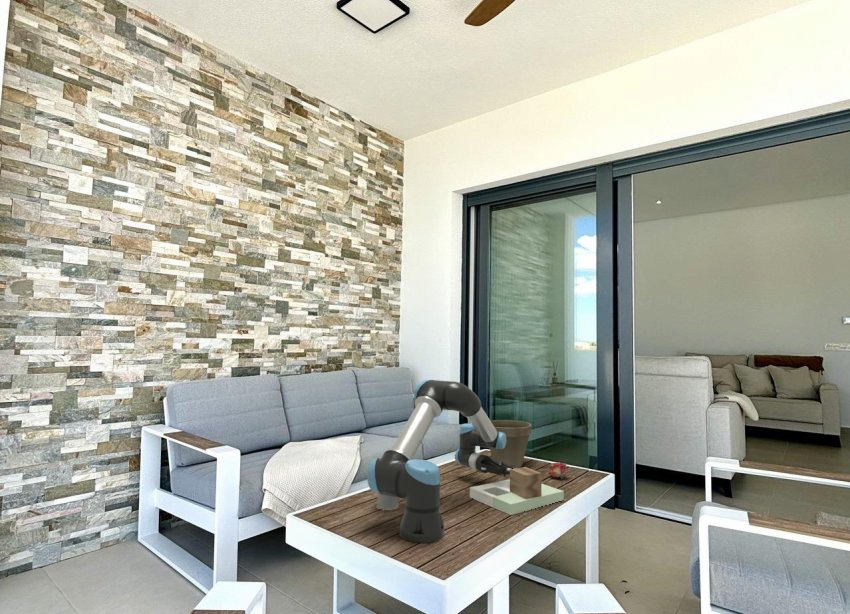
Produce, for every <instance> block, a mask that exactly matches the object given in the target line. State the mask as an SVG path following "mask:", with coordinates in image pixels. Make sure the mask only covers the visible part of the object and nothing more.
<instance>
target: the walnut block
mask: <svg viewBox="0 0 850 614" xmlns="http://www.w3.org/2000/svg"><path fill="white" fill-rule="evenodd" d="M509 479H510V492H512V493H514V494H516V495H518V496H520V497H522V498H524V499H529V498H535V497H541V484H542V472H540V471H537V470H535V469H532V468H529V467H527V466H524V467H523V466H521V467H519V468H513V469H510V476H509Z"/></svg>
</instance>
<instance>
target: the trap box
mask: <svg viewBox="0 0 850 614" xmlns="http://www.w3.org/2000/svg"><path fill="white" fill-rule="evenodd" d="M564 497H565V491H564V490H562V489H559V488H556V487H552V486H550V485H547V484H544V483H541V497H535V498H529V499H524V498H522V497H520V496H518V495H516V494H514V493H512V492H510V478H509V479H504V480H500V481H495V482H490V483H485V484H481V485H474V486H471V487H469V498H470V499H472V498H473V500H475V501H478V502H479V503H482V504H485V505H487V506H488V507H491V508H493V509H496V510H498V511H500V512H503V513H505V514H507V515H509V516H512V515H513V516H514V515H517V514H520V513H524V511H525V512H527V511H531V509H532V510H536V509H539V508H538V507H540V508H542V507H541V506H543V507H546V506H545V505H547V506H550V505H549V504H551V505H553V504H552V503H555V502H558V501H562V500H564V501H565V499H564ZM562 502H563V501H562ZM558 503H559V502H558ZM555 504H556V503H555ZM535 508H536V509H535Z"/></svg>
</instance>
